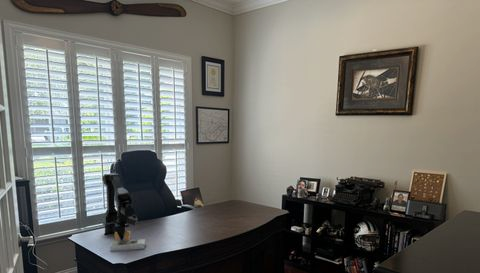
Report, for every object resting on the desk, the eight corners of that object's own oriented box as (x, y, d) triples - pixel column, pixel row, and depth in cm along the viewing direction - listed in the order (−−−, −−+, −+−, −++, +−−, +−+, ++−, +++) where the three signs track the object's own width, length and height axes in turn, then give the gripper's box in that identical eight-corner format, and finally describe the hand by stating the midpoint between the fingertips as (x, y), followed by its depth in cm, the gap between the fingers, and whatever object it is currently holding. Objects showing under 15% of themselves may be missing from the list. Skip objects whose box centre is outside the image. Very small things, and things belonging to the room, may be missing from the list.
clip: (114, 243, 167) (114, 233, 167) (115, 241, 170) (115, 231, 170) (129, 242, 169) (129, 232, 169) (130, 240, 172) (130, 230, 172)
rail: (110, 251, 156) (110, 245, 156) (113, 246, 163) (113, 241, 163) (143, 248, 160) (143, 243, 160) (145, 244, 166) (145, 239, 166)
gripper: (134, 216, 162) (133, 243, 162) (139, 208, 180) (138, 232, 180) (113, 217, 160) (113, 244, 160) (120, 209, 178) (120, 233, 178)
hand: (122, 238), depth 169 cm, fingers closed on clip, 3 cm apart
